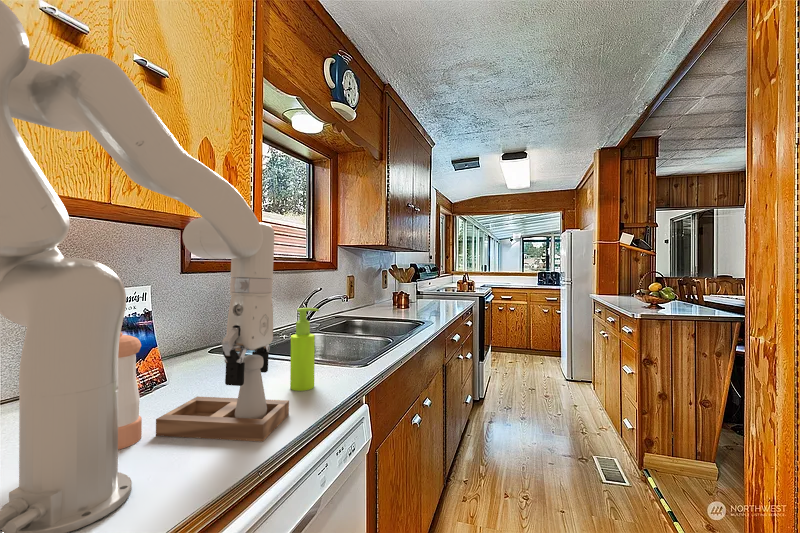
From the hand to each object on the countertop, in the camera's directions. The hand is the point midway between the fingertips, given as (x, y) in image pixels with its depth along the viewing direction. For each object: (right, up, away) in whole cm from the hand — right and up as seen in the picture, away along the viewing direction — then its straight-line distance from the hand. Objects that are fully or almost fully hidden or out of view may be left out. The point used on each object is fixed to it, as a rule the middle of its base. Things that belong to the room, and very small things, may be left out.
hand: (247, 378), depth 73 cm
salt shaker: (0, -9, +1) cm, 9 cm away
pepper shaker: (-20, -10, -6) cm, 23 cm away
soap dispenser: (+5, -10, +25) cm, 27 cm away
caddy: (-5, -9, +1) cm, 11 cm away
